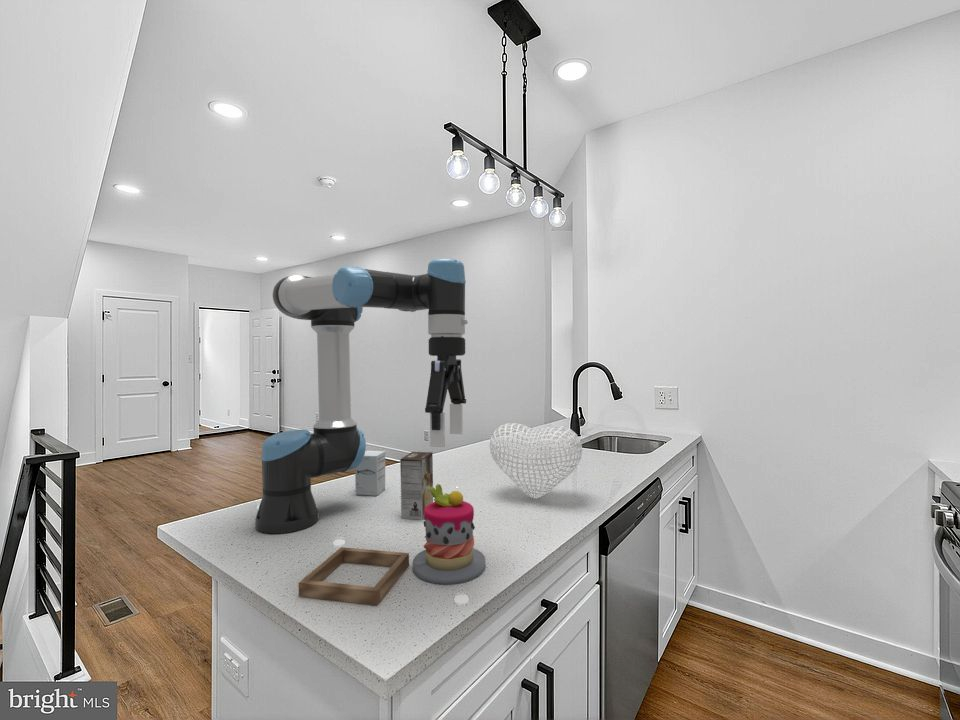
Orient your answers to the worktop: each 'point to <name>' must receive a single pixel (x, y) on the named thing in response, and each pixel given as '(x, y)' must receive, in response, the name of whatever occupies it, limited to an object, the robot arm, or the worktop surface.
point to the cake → (448, 531)
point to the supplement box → (370, 474)
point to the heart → (537, 431)
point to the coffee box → (416, 484)
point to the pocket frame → (354, 593)
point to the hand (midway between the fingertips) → (447, 439)
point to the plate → (448, 576)
